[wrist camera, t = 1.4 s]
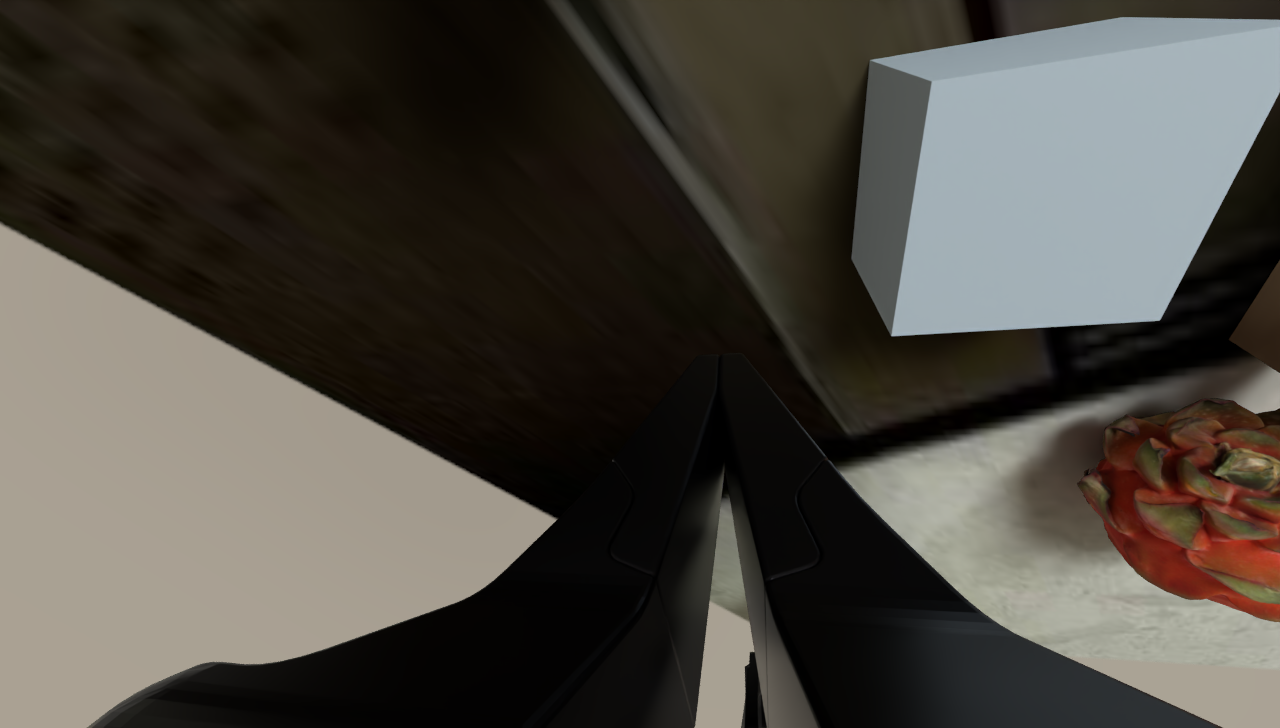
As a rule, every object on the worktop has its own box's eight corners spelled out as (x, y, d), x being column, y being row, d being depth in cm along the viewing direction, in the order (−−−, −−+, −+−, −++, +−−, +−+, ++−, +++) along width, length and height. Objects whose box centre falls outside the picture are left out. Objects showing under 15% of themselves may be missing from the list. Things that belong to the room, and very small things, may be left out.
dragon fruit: (1077, 341, 22) (1187, 439, 26) (991, 504, 22) (1115, 576, 26) (1414, 376, 14) (1493, 509, 18) (1280, 632, 14) (1390, 705, 18)
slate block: (1045, 239, 18) (1159, 320, 14) (850, 257, 20) (891, 336, 15) (1120, 17, 14) (1317, 20, 10) (869, 59, 16) (931, 81, 11)
